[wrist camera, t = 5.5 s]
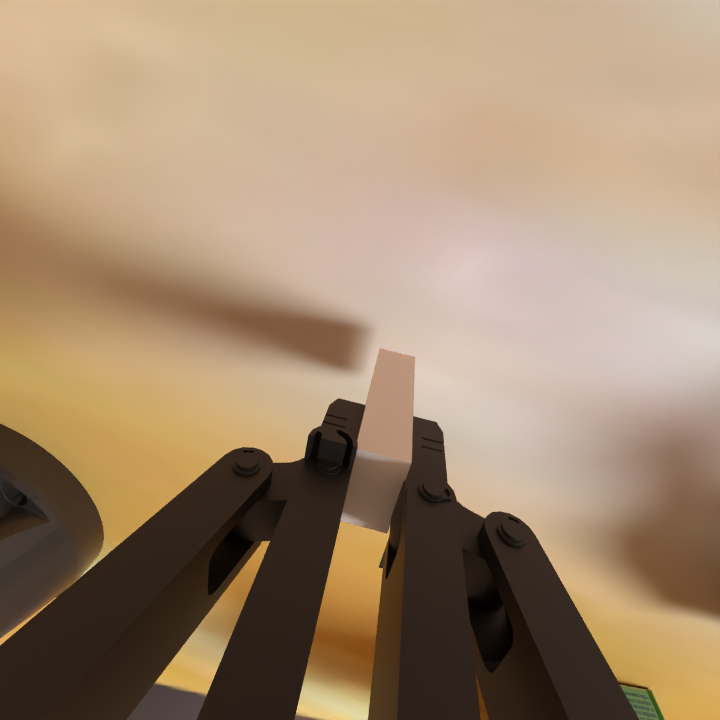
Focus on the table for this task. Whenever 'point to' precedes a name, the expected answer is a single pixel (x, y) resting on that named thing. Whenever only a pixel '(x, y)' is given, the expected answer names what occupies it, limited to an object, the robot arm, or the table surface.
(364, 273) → the table surface
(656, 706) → the milk carton
